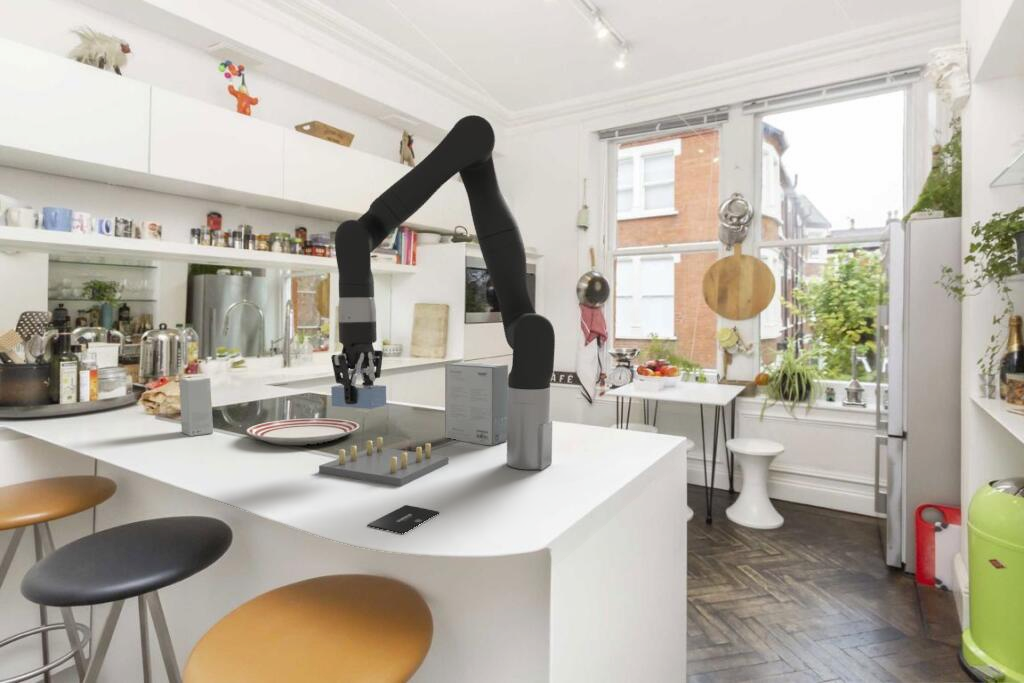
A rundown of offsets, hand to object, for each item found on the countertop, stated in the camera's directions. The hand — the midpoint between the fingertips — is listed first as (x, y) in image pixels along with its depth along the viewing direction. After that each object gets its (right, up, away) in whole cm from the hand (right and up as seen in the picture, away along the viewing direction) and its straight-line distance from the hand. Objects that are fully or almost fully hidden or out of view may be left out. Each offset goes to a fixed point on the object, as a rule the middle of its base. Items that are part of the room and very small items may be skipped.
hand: (359, 401), depth 115 cm
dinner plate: (-23, -13, +30) cm, 40 cm away
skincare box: (-53, -12, +33) cm, 63 cm away
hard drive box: (+22, -13, +30) cm, 40 cm away
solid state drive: (+14, -17, -26) cm, 34 cm away
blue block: (0, -1, 0) cm, 1 cm away
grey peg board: (+5, -14, +3) cm, 15 cm away
